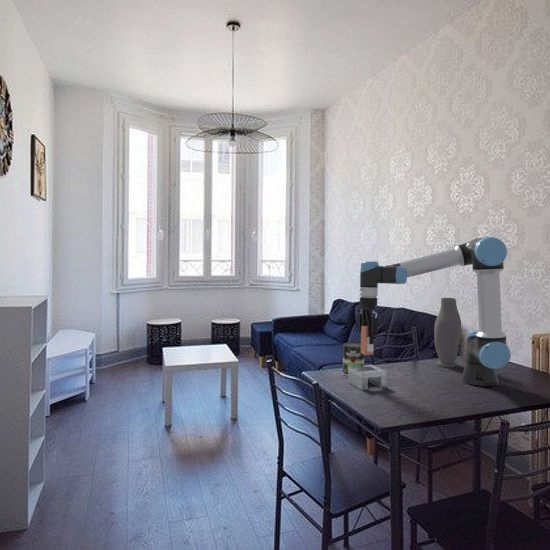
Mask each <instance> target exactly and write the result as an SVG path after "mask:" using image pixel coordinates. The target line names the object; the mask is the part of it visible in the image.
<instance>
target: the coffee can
mask: <svg viewBox="0 0 550 550" xmlns="http://www.w3.org/2000/svg"><path fill="white" fill-rule="evenodd" d="M361 365H365V355H364V354H361V342H360V343H359V342H346V343H343V344H342V375H344V376H345V377H348V367H349V366H361Z"/></svg>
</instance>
